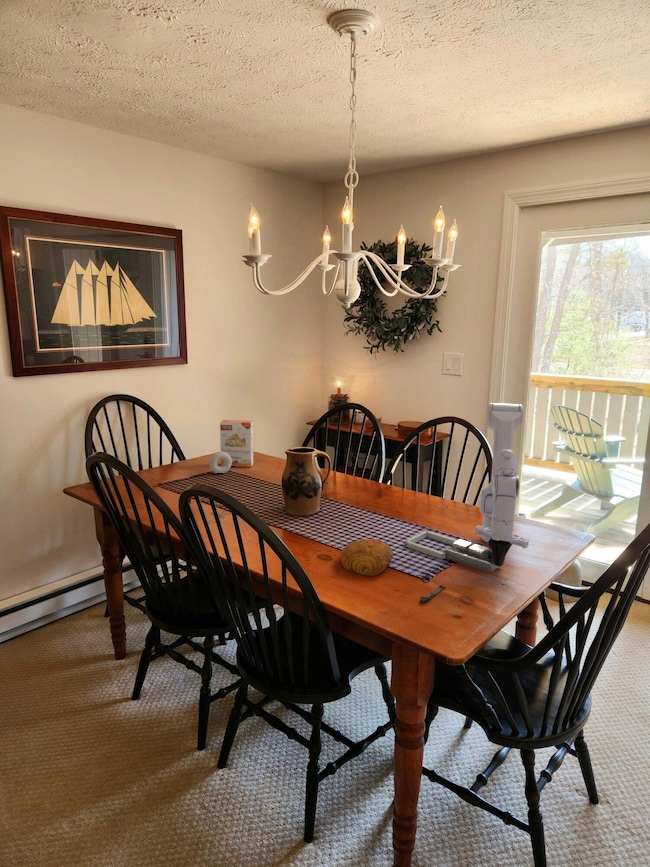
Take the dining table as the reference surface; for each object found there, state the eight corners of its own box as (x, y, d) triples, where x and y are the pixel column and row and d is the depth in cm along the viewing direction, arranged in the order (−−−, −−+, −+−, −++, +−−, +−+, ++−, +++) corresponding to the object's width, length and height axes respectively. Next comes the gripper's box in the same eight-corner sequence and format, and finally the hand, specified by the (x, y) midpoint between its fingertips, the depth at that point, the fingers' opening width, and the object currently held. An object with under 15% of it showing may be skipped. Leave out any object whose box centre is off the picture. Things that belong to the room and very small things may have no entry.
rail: (460, 551, 169) (460, 540, 168) (504, 565, 159) (505, 554, 159) (444, 560, 162) (445, 549, 161) (489, 576, 153) (490, 564, 152)
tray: (425, 537, 178) (426, 530, 178) (462, 549, 170) (463, 541, 169) (403, 548, 170) (404, 541, 169) (441, 562, 161) (442, 554, 160)
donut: (210, 476, 240) (210, 453, 237) (208, 474, 243) (207, 451, 240) (233, 473, 244) (232, 451, 242) (230, 471, 247) (230, 449, 245)
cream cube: (474, 556, 163) (475, 543, 162) (487, 560, 160) (488, 547, 159) (467, 561, 160) (468, 547, 159) (480, 565, 157) (481, 552, 156)
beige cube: (459, 551, 166) (459, 538, 165) (471, 555, 163) (472, 542, 162) (452, 555, 163) (452, 542, 162) (464, 559, 160) (465, 546, 160)
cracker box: (220, 467, 254) (219, 421, 249) (223, 463, 259) (222, 419, 255) (251, 468, 253) (250, 422, 248) (253, 464, 259) (253, 420, 254)
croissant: (397, 566, 163) (400, 539, 163) (381, 581, 149) (384, 552, 148) (351, 555, 169) (353, 529, 168) (331, 569, 155) (333, 541, 154)
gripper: (471, 515, 154) (467, 561, 157) (522, 529, 145) (517, 578, 148) (483, 508, 159) (480, 553, 162) (533, 522, 150) (529, 569, 153)
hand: (498, 564), depth 155 cm, fingers closed
